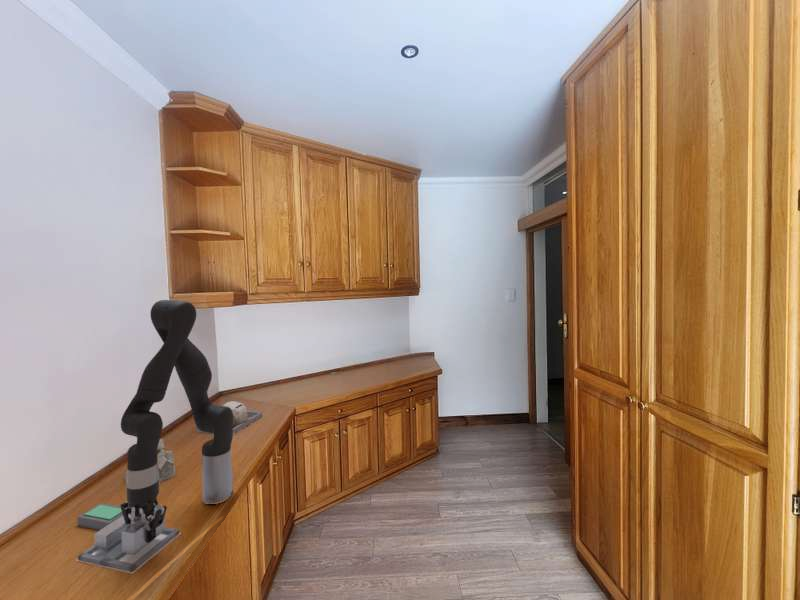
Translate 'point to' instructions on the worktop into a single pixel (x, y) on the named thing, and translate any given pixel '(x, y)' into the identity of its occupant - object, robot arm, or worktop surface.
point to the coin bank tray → (250, 413)
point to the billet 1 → (110, 537)
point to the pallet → (129, 561)
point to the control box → (96, 519)
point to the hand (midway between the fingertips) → (144, 539)
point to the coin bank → (237, 412)
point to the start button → (104, 512)
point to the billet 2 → (137, 536)
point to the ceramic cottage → (164, 462)
